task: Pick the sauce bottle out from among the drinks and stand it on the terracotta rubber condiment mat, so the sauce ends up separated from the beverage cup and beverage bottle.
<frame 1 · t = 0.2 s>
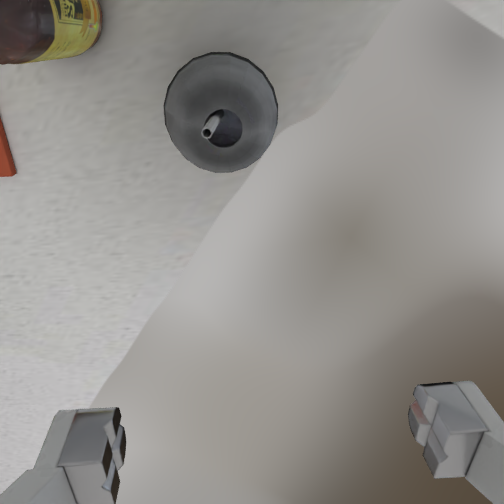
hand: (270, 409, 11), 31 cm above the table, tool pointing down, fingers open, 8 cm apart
sauce bottle: (63, 10, 32), on the table
beverage cup: (218, 89, 36), on the table
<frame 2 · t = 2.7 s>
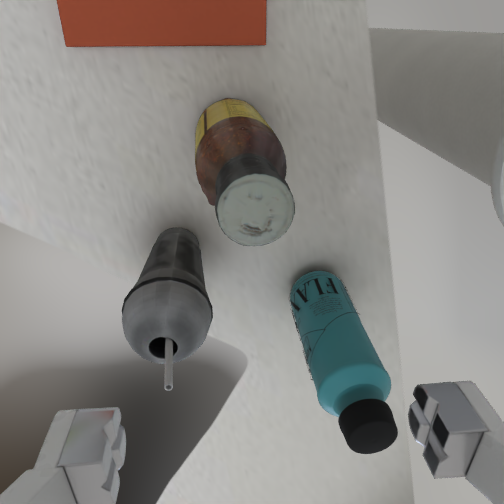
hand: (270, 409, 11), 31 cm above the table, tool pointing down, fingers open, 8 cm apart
sauce bottle: (231, 129, 38), on the table
beverage cup: (177, 245, 43), on the table
beverage bottle: (313, 285, 48), on the table
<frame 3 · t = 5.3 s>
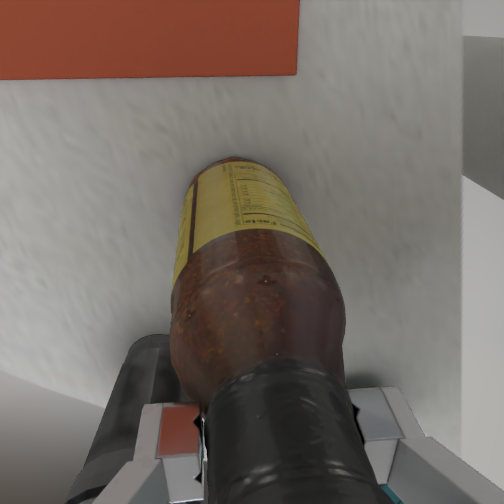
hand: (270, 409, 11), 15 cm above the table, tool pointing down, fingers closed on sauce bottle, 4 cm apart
sauce bottle: (238, 200, 25), on the table, touching gripper
beverage cup: (159, 356, 30), on the table
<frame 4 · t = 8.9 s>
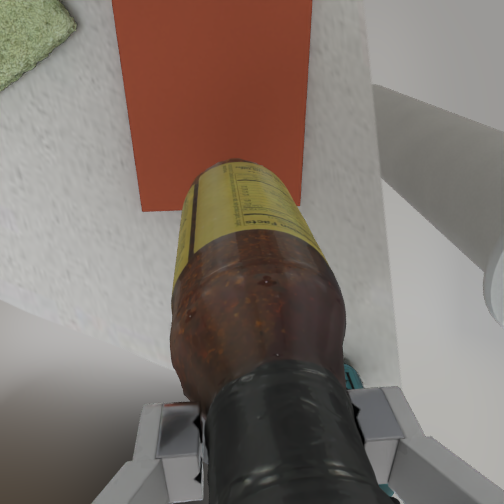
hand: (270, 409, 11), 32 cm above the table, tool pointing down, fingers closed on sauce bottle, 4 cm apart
sauce bottle: (238, 200, 25), point 17 cm above the table, touching gripper
beverage bottle: (331, 371, 56), on the table
condiment mat: (217, 103, 38), on the table
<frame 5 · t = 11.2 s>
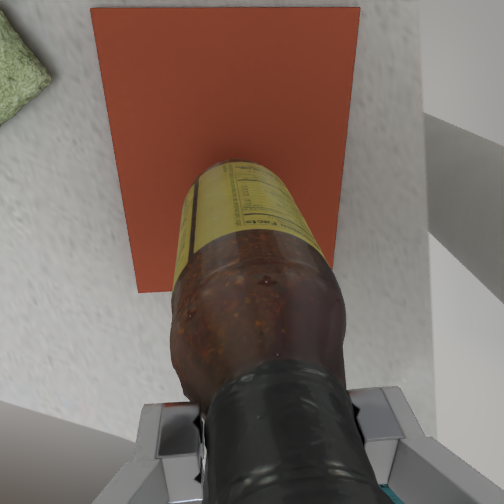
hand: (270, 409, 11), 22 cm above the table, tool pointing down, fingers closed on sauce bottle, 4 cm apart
sauce bottle: (238, 200, 25), point 6 cm above the table, touching gripper
condiment mat: (232, 167, 30), on the table
when the fingers open (16 cm above the table, at t = 12.9 s): sauce bottle stays where it is, resting on condiment mat.
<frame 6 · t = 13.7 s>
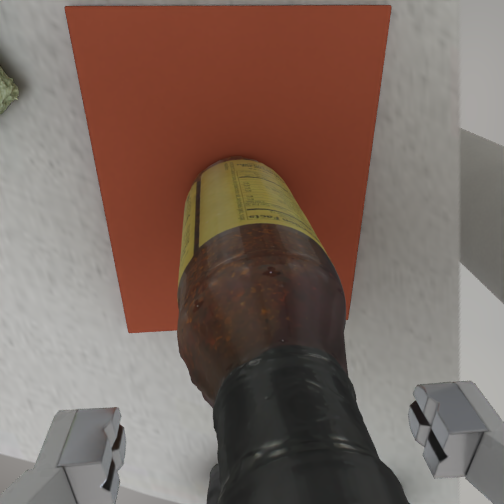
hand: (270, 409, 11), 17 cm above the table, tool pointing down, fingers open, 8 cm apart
sauce bottle: (239, 197, 25), point 1 cm above the table, touching condiment mat
beverage cup: (233, 471, 40), on the table
condiment mat: (236, 191, 26), on the table
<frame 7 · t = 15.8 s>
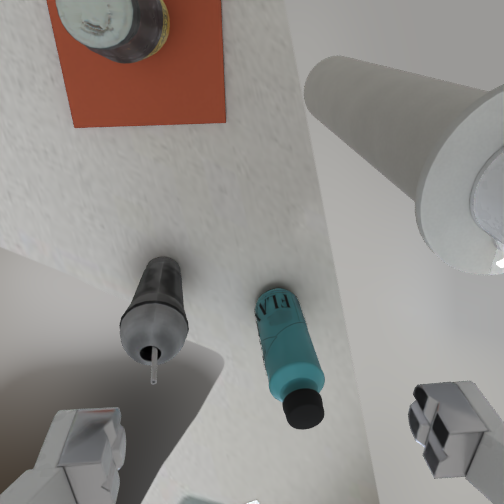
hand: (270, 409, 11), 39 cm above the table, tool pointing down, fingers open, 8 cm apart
sauce bottle: (139, 19, 39), point 1 cm above the table, touching condiment mat
beverage cup: (163, 270, 54), on the table
beverage bottle: (274, 299, 58), on the table
condiment mat: (138, 18, 40), on the table
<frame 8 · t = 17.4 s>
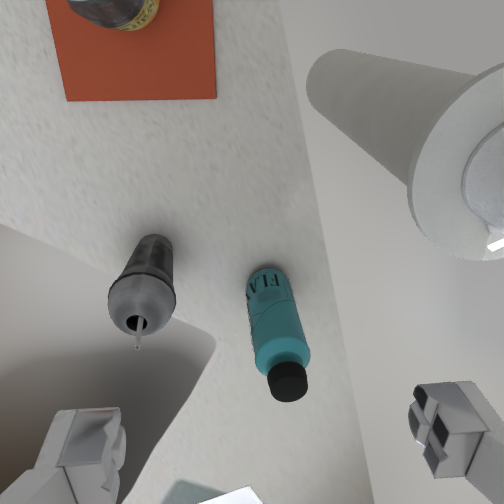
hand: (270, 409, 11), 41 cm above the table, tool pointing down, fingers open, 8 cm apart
beverage cup: (155, 248, 55), on the table
beverage bottle: (266, 280, 59), on the table
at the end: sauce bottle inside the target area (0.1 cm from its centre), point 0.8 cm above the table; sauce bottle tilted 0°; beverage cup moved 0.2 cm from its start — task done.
